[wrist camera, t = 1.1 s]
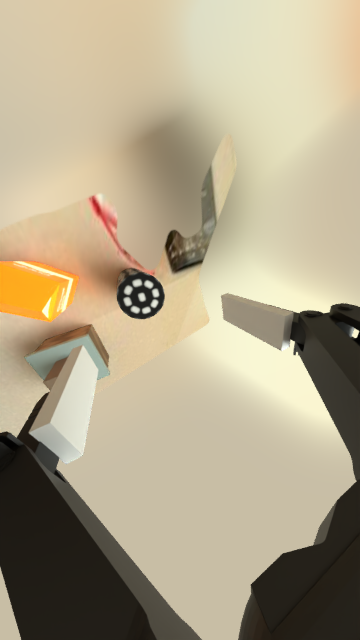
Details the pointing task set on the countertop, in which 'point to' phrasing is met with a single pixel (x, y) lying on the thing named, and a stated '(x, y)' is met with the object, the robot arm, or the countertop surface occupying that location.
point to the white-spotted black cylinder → (139, 294)
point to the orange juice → (35, 290)
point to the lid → (63, 359)
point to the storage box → (75, 334)
